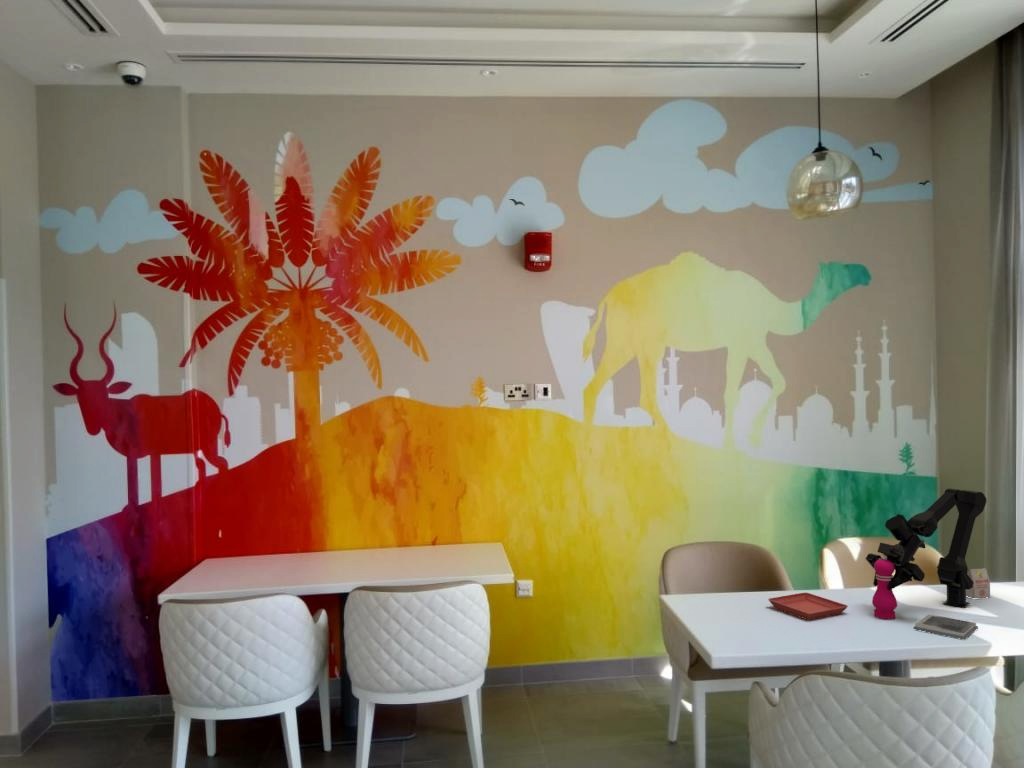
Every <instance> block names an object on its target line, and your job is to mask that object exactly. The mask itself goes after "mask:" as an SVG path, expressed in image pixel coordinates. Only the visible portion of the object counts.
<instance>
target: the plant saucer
mask: <svg viewBox="0 0 1024 768" xmlns="http://www.w3.org/2000/svg"><path fill="white" fill-rule="evenodd" d="M767 600H768V601H769V602H770V604H771V605H772V606H773V607H774V608H775V609H776V610H780V611H782V612H784V611H785V612H784V613H787V612H788V614H790V613H791V615H793V614H794V615H793V616H796V615H797V616H796V617H799V616H800V617H799V618H802V617H803V618H802V619H804V618H806V619H805V620H807V619H811V620H815V619H814V618H816V619H820V618H819V617H821V618H825V616H826V617H830V615H831V616H835V614H836V615H840V614H842V613H843V612H844V611H845V610H846V609H847V608H848V607H849V606H848V605H847V604H844V603H842V602H841V603H840V602H838V601H835V600H831V599H829V598H825V597H822V596H820V595H819V596H818V595H815V594H812V593H810V592H799V593H795V594H794V593H793V594H788V595H782V596H775V597H769V598H768V599H767ZM839 613H840V614H839Z"/></svg>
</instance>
